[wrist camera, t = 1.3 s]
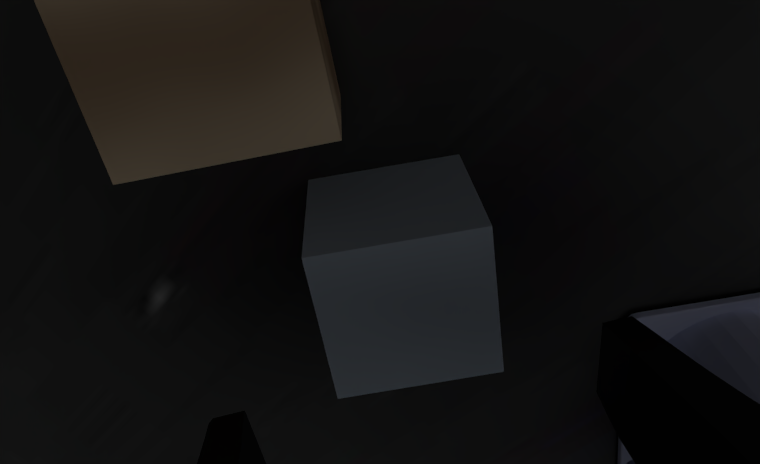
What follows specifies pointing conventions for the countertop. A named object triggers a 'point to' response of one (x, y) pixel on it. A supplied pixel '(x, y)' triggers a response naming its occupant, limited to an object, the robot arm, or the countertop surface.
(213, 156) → the oak block
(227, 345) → the countertop surface
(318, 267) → the blue-grey cube
